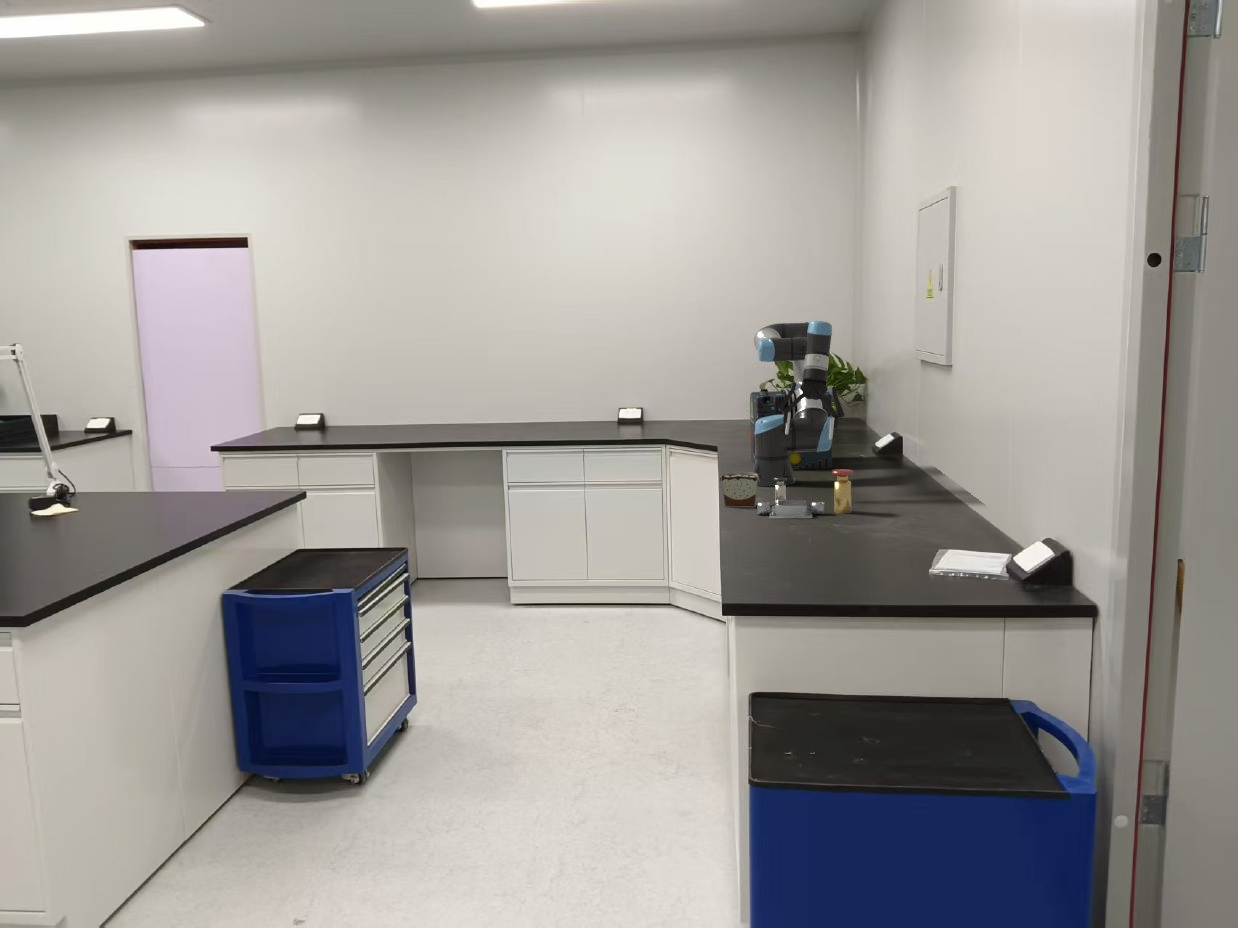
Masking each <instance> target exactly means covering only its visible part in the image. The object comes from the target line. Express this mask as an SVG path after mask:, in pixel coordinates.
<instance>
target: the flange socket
mask: <svg viewBox="0 0 1238 928" xmlns="http://www.w3.org/2000/svg"><path fill="white" fill-rule="evenodd" d="M756 505H757V506H756V508H757V509H756V513H757V515H769V516H768V517H769V519H774V520H775V519H813V515H825V501H811V506H810V505H807V500H806V499H786V500H774V505H772V506H771V502H770V501H758V502H756Z"/></svg>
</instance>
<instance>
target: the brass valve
mask: <svg viewBox="0 0 1238 928" xmlns="http://www.w3.org/2000/svg"><path fill="white" fill-rule="evenodd" d="M831 475H834V476H836V477H837V478H836V479H837V480H835V481H834V482H833V486H834V487H833V492H834V493H833V495H834V496H833V500H834V501H833V503H834V505H833V510H834V511H833V512H834V513H835V514H839V515H841V514H842V515H844V514H851V513H852V480H849V475H850V476H851V475H854V470H852V469H844V468H841V469H839V468H837V469H832V470H831Z"/></svg>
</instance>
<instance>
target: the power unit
mask: <svg viewBox="0 0 1238 928" xmlns="http://www.w3.org/2000/svg"><path fill="white" fill-rule="evenodd" d="M790 390H791V388H789V387H787V388H781V390H780V391H777V390H776V391H769V390H768V388H761V389H760V391H752V392H750V396H749V409H750V410H749V414H750V415H749V416H750V417H749V420H750V426H749V427H750V459H751V461H752V463H753V465H755V461H756V450H755V423H756V421H757V420H758V419H760V418H763V417H768V416H773V415H783V414H784V413H783V412H782V411H779V407H780V405H781V403H782V402H783V400H784V399H785V397H786V396H787V394H788V393H789V391H790ZM824 395H825V396H826V398H827V400H828V401H829V403H830V404H831V405H832V406H833V403H832V402H833V399H832V395H831V394H829V392H826V393H825V394H824ZM795 399H796V390H795V391H794V393H793V394H792V396H791V397H790V399H789V400H788V402H787V403H786V405H785V406H784V408H787V407H788V406H789V405H790V404H791V403H792V402H793V401H794V400H795ZM822 409H824V410H825V411H826V412H827V414H828V417H832V415H831V414H830V412H829V411H828V409H827V408H826V407H825V405H824V404H823V402H822ZM797 412H798V409H797V405H795V406H794V407H793V408H792V409H791V410H790V411H789V412H788V413H791V414H790V419H794V415H795V414H796V413H797ZM790 463H791V466H792V469H793V471H794V470H819V469H820V470H821V469H824V470H825V469H832V468H833V444H832V445H831V448H830V449H829V450H828V451H820V452H790Z"/></svg>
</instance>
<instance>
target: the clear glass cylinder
mask: <svg viewBox="0 0 1238 928" xmlns="http://www.w3.org/2000/svg"><path fill="white" fill-rule="evenodd" d="M774 480H775V481H777V484H776V485H775V486H774V496H775V497H774V499H775V500H787V497H786V496H787V494H786V493H787V492H786V491H787V487H786V486H787V485H785V484H784V481H786V480H787V477H774ZM775 500H774V501H775Z"/></svg>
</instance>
